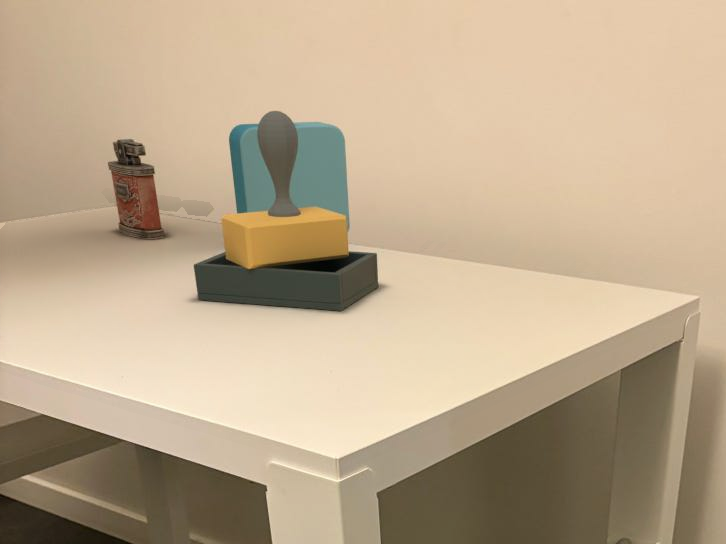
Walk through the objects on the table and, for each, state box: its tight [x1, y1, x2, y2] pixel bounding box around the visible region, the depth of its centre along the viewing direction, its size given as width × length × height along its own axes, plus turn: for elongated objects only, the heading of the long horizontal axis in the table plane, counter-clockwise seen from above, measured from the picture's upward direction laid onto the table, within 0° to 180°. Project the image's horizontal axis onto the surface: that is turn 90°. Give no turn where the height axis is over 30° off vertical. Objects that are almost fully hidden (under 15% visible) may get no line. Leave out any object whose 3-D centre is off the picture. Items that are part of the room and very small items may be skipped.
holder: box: [193, 250, 379, 312], centre depth 91 cm, size 10×14×3 cm
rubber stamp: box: [220, 110, 349, 269], centre depth 87 cm, size 10×6×12 cm, turn 125°
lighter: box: [107, 138, 166, 240], centre depth 114 cm, size 8×3×10 cm, turn 43°
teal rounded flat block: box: [228, 121, 351, 234], centre depth 111 cm, size 12×4×12 cm, turn 119°
